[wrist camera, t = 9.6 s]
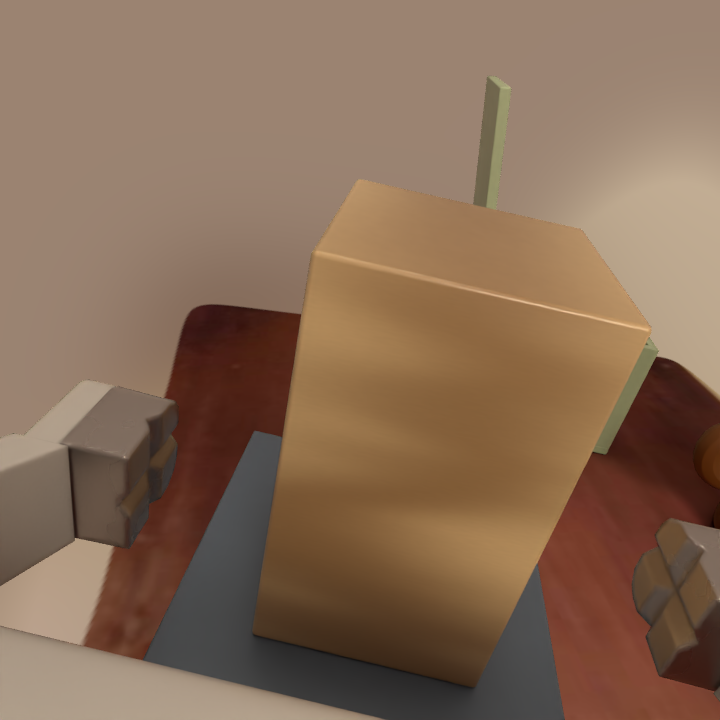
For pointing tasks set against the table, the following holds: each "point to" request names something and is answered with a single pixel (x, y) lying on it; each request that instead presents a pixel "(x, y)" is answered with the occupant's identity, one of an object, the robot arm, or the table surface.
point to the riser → (321, 669)
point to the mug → (709, 462)
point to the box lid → (492, 142)
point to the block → (435, 426)
